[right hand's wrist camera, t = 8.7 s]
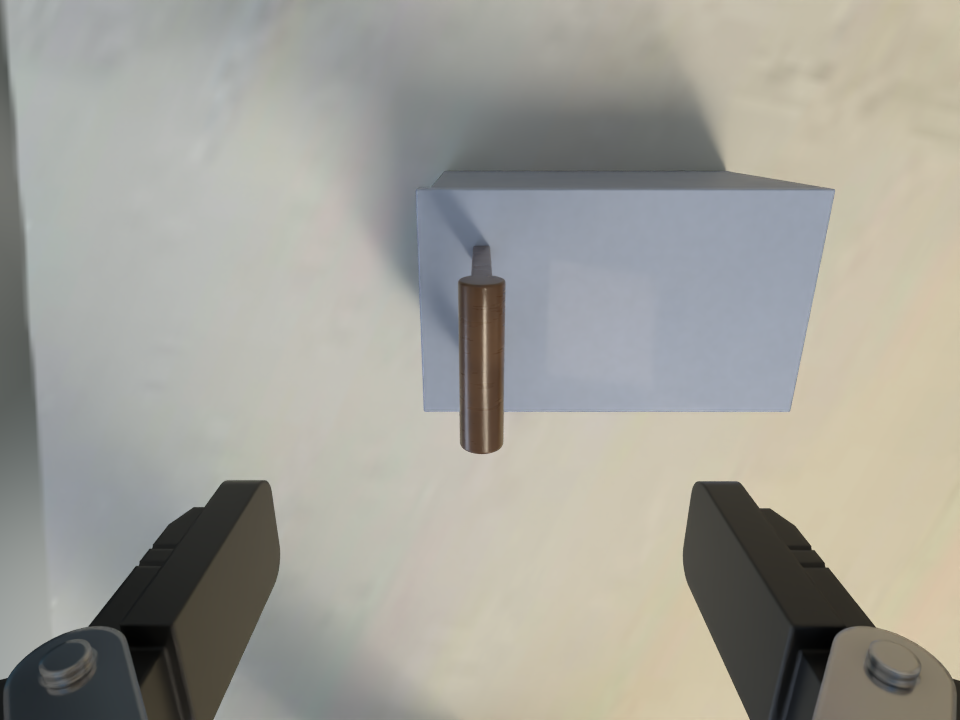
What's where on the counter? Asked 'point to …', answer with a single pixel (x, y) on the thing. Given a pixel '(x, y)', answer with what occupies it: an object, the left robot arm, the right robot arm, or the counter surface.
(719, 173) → the chest
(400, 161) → the counter surface
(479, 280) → the lid
